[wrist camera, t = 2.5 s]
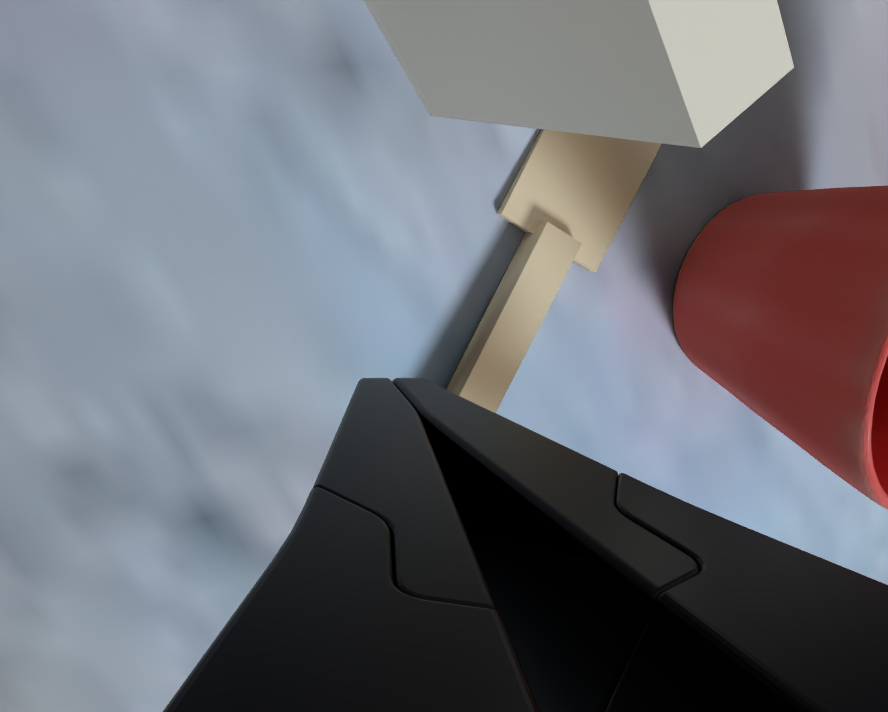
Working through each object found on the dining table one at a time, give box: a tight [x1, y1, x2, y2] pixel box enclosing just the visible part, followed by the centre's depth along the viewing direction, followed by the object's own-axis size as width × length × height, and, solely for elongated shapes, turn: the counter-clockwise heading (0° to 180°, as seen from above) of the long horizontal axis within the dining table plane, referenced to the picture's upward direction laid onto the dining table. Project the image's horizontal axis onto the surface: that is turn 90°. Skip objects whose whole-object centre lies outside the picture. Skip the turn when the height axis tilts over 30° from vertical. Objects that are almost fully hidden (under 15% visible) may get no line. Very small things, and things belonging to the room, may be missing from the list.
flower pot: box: [673, 186, 888, 509], centre depth 26 cm, size 11×11×10 cm
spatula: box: [446, 129, 662, 413], centre depth 25 cm, size 18×4×1 cm, turn 146°
